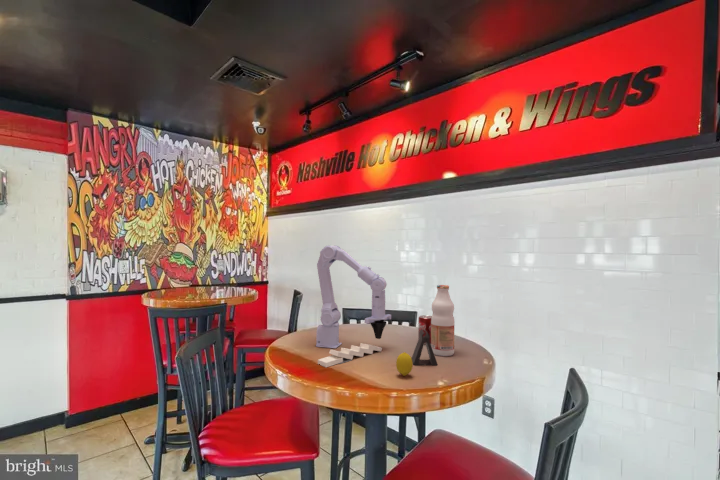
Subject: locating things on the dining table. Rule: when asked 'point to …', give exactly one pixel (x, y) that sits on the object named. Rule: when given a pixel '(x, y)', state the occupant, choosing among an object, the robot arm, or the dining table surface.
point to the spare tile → (330, 360)
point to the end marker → (345, 360)
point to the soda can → (424, 325)
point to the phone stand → (418, 351)
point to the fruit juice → (442, 323)
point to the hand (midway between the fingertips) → (378, 338)
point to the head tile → (370, 347)
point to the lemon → (404, 363)
